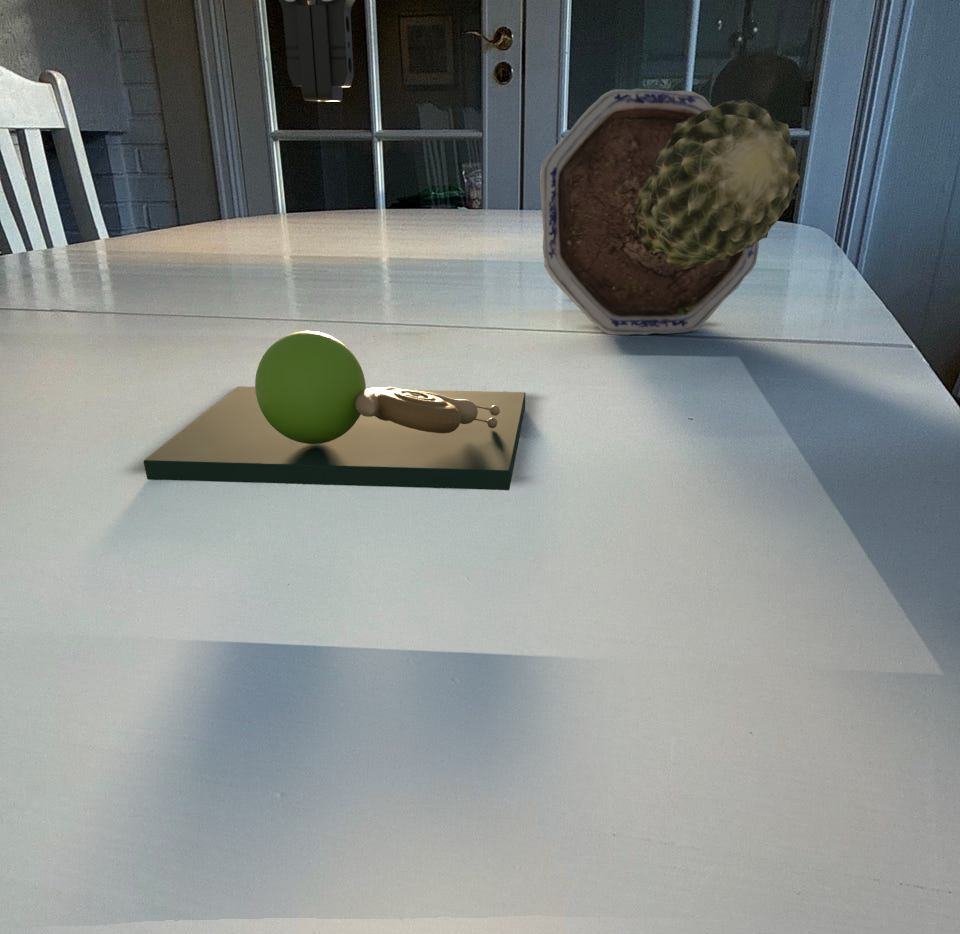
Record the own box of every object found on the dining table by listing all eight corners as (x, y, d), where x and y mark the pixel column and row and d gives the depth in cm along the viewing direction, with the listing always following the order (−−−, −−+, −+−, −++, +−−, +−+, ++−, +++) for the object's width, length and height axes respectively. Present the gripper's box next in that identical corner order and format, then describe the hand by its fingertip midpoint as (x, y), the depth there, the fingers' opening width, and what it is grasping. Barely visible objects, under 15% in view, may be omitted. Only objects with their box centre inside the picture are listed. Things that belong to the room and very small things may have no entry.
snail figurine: (276, 419, 49) (488, 466, 49) (234, 439, 43) (475, 493, 43) (287, 316, 47) (509, 365, 47) (244, 323, 41) (498, 379, 41)
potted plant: (510, 129, 78) (614, -15, 50) (705, 138, 81) (909, 7, 53) (508, 340, 83) (601, 319, 55) (692, 342, 86) (871, 323, 58)
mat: (146, 479, 44) (142, 460, 44) (239, 402, 56) (237, 386, 56) (509, 490, 43) (509, 470, 42) (525, 408, 55) (525, 391, 54)
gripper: (468, -388, 37) (468, 102, 46) (159, -375, 38) (217, 101, 47) (442, -493, 31) (448, 100, 39) (71, -474, 32) (158, 99, 40)
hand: (322, 100), depth 43 cm, fingers closed
